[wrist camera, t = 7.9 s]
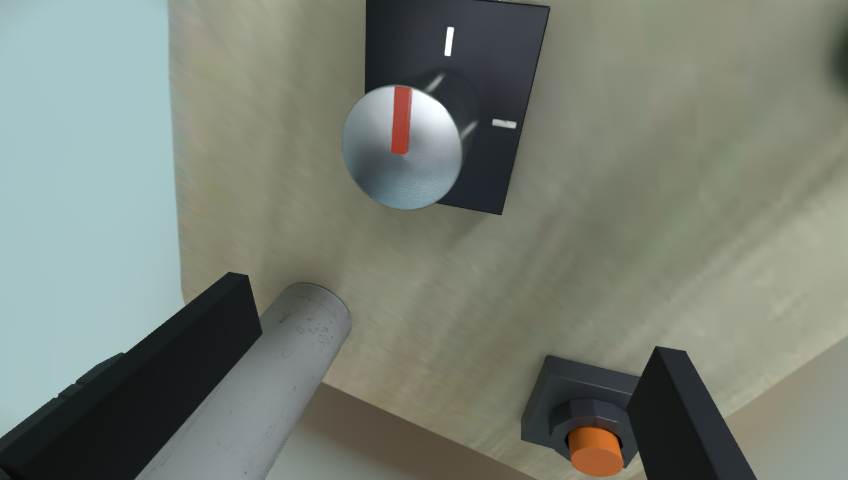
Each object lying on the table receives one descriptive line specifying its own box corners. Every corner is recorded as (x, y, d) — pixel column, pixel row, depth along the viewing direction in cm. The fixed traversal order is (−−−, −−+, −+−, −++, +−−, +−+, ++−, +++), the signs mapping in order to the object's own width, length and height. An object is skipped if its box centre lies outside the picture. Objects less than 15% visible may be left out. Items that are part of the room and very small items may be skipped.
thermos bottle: (272, 319, 38) (-124, 768, 15) (291, 269, 34) (-223, 784, 10) (336, 354, 39) (52, 847, 15) (362, 309, 35) (25, 893, 11)
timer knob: (473, 160, 23) (451, 223, 15) (399, 147, 23) (339, 201, 15) (489, 75, 20) (471, 96, 12) (404, 63, 21) (336, 77, 13)
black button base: (619, 446, 36) (630, 489, 33) (520, 420, 37) (521, 458, 34) (663, 382, 31) (681, 425, 27) (546, 354, 32) (550, 391, 29)
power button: (607, 457, 32) (613, 482, 30) (562, 445, 32) (564, 468, 31) (624, 432, 30) (631, 456, 28) (575, 419, 30) (579, 442, 29)
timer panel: (502, 201, 26) (501, 216, 24) (374, 178, 28) (362, 190, 25) (547, 10, 20) (551, 6, 18) (380, -8, 22) (364, -13, 19)
